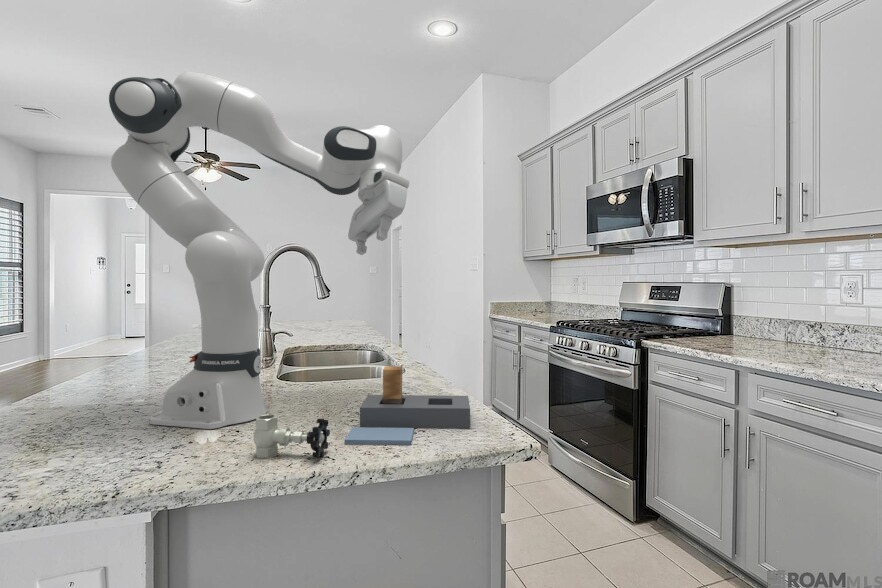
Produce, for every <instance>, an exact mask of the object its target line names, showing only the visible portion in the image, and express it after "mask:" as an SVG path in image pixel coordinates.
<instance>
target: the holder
mask: <svg viewBox="0 0 882 588" xmlns="http://www.w3.org/2000/svg"><path fill="white" fill-rule="evenodd" d="M382 399H383V394H368V395H367V396H366V397H365V399H364V401H362V403H361V404H360V406H359V427H365V428H414V429H471V405H470V401H469V400H470V399H469V396H468V395H434V394H433V395H432V394H431V395H425V394H424V395H421V394H420V395H419V394H418V395H417V394H414V395H413V394H410V395H409V394H403V399H402V405H401V404H382Z"/></svg>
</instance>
